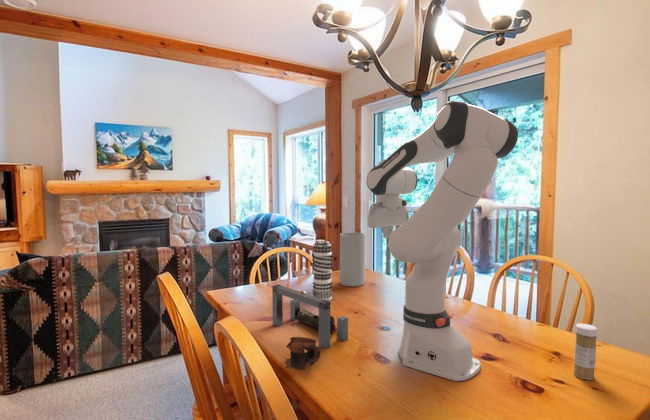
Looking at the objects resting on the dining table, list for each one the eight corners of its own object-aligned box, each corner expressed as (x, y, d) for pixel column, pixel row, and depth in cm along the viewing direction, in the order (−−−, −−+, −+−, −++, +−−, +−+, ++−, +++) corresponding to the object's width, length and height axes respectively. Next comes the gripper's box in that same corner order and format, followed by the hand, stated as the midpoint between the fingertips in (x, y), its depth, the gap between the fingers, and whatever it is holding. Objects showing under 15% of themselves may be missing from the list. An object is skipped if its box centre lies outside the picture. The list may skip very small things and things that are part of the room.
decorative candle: (325, 302, 156) (326, 243, 154) (307, 298, 160) (307, 241, 159) (336, 296, 163) (337, 240, 162) (319, 293, 168) (319, 239, 166)
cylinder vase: (362, 280, 192) (362, 232, 190) (366, 286, 180) (367, 235, 178) (338, 280, 191) (338, 232, 190) (341, 287, 179) (341, 236, 177)
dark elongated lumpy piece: (296, 322, 134) (296, 307, 133) (311, 319, 138) (311, 304, 137) (326, 338, 120) (326, 321, 119) (342, 333, 124) (342, 317, 123)
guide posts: (347, 339, 119) (348, 317, 118) (342, 341, 117) (342, 319, 116) (295, 317, 138) (295, 299, 137) (290, 319, 136) (290, 300, 136)
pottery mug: (276, 367, 102) (281, 335, 105) (299, 371, 108) (303, 341, 111) (308, 369, 94) (312, 335, 98) (331, 373, 100) (334, 341, 104)
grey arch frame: (331, 346, 114) (331, 299, 113) (324, 349, 111) (324, 301, 110) (279, 322, 133) (279, 282, 132) (272, 324, 131) (272, 284, 130)
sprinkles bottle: (585, 371, 98) (588, 322, 98) (599, 381, 94) (602, 329, 93) (569, 372, 98) (571, 322, 97) (581, 381, 94) (584, 329, 93)
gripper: (377, 203, 132) (376, 241, 133) (409, 201, 146) (409, 236, 147) (363, 202, 137) (363, 239, 138) (396, 201, 151) (395, 234, 152)
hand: (387, 237), depth 142 cm, fingers closed
